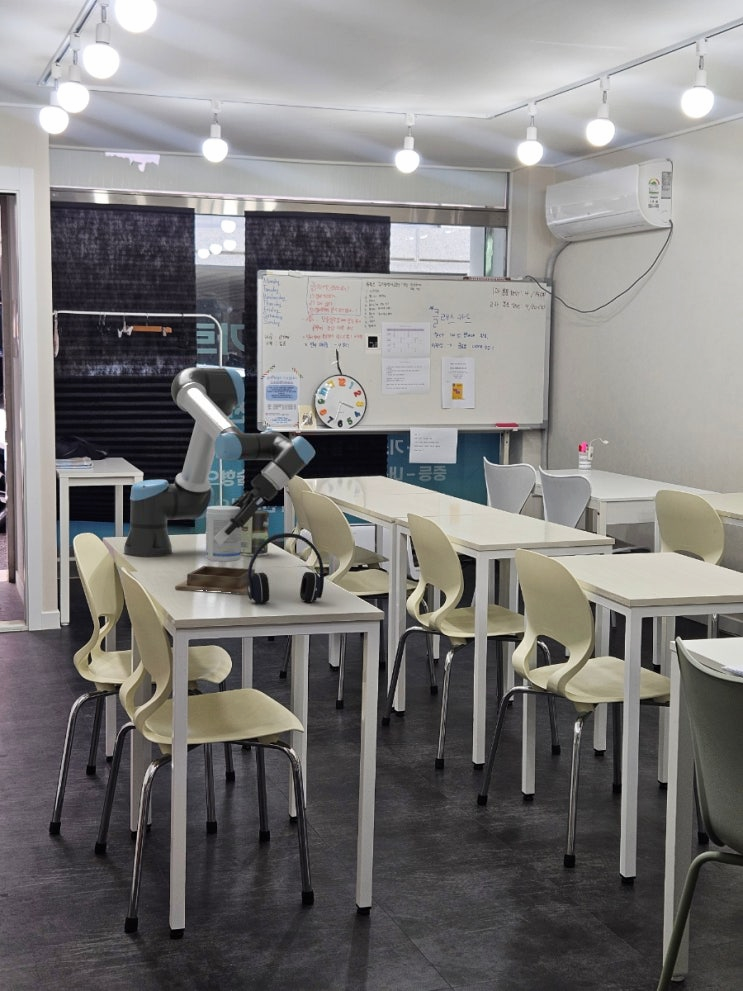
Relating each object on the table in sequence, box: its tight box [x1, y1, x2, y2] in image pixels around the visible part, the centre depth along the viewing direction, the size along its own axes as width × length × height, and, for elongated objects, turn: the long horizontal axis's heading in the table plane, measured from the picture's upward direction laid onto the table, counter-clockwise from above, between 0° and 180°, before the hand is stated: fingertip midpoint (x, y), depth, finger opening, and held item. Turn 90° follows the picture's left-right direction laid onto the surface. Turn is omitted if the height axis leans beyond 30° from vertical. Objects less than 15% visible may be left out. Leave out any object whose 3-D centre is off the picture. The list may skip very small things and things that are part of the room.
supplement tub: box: [205, 505, 242, 563], centre depth 326 cm, size 10×10×15 cm
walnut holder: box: [174, 565, 256, 595], centre depth 328 cm, size 20×20×4 cm
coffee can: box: [241, 509, 270, 557], centre depth 386 cm, size 10×10×14 cm
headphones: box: [247, 532, 325, 604], centre depth 308 cm, size 20×7×18 cm, turn 108°
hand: (212, 539), depth 325 cm, fingers closed on supplement tub, 9 cm apart
